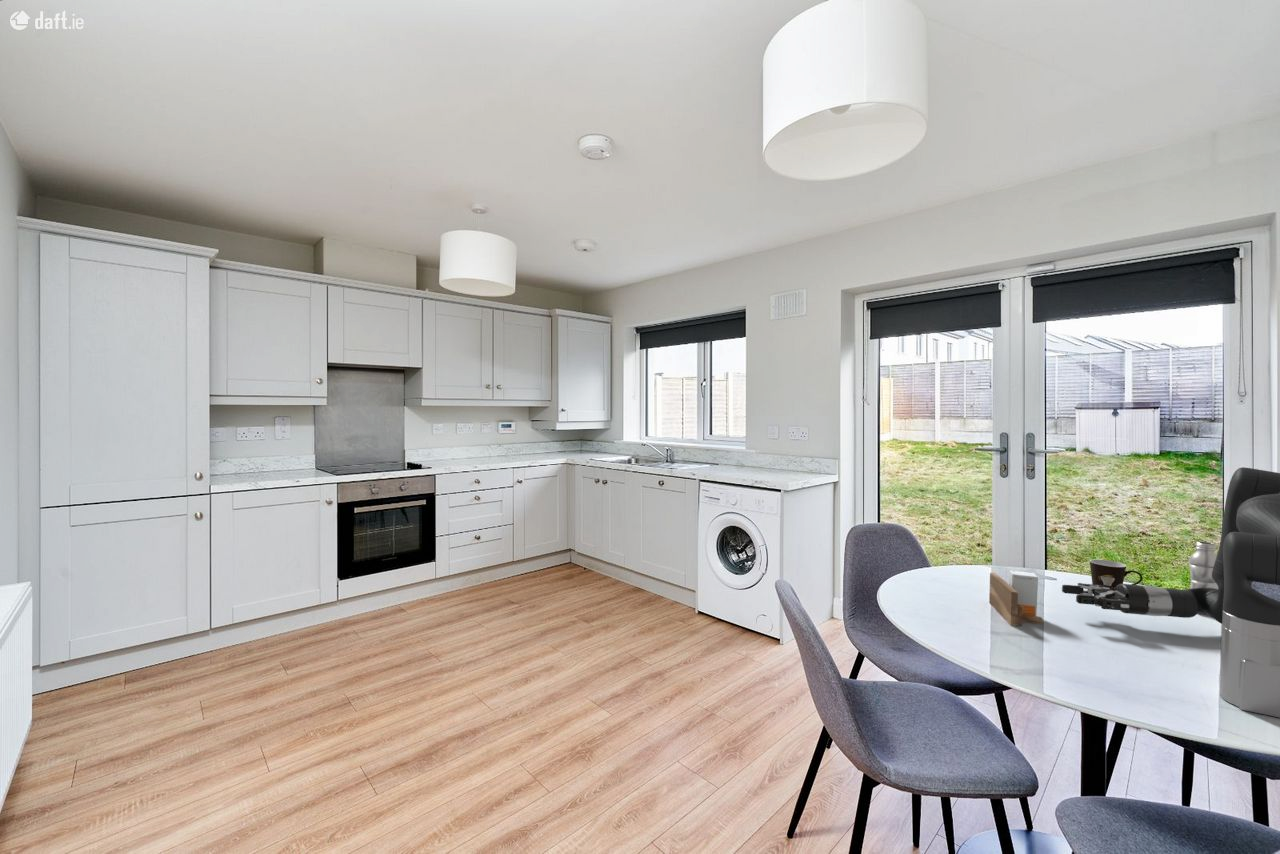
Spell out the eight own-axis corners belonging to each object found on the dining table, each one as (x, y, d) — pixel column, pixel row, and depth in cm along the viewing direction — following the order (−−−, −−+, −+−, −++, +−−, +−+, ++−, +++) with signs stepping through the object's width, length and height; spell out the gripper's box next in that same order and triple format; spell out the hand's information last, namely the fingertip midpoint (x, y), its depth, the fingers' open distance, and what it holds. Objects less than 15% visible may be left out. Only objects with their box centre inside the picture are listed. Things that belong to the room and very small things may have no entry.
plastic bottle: (1227, 618, 150) (1230, 546, 149) (1198, 616, 151) (1200, 545, 151) (1208, 609, 156) (1210, 540, 155) (1180, 608, 157) (1182, 539, 157)
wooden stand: (1022, 605, 159) (1023, 575, 158) (1048, 629, 141) (1049, 595, 141) (989, 602, 161) (990, 572, 161) (1010, 625, 144) (1011, 591, 144)
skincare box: (1010, 616, 150) (1011, 574, 150) (1007, 611, 154) (1008, 569, 154) (1037, 620, 148) (1038, 577, 147) (1033, 615, 151) (1034, 572, 151)
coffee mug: (1082, 592, 171) (1083, 561, 170) (1097, 588, 174) (1098, 558, 174) (1128, 604, 160) (1129, 571, 160) (1143, 600, 164) (1144, 567, 163)
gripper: (1128, 578, 149) (1058, 572, 154) (1159, 594, 136) (1082, 588, 141) (1127, 604, 150) (1057, 598, 154) (1159, 624, 136) (1081, 616, 141)
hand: (1069, 593), depth 147 cm, fingers open, 8 cm apart
